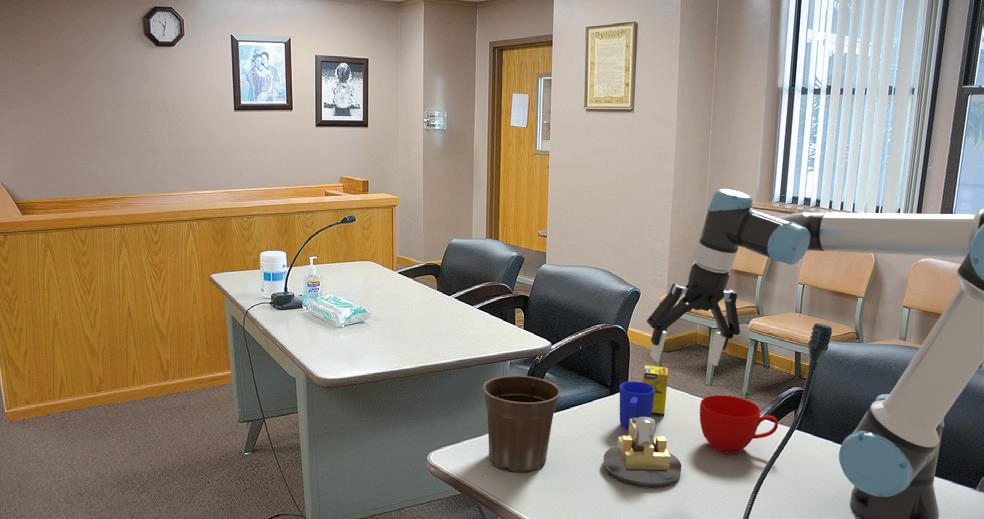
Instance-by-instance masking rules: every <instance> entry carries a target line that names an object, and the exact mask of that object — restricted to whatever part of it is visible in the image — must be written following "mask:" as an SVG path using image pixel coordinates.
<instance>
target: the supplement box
mask: <svg viewBox="0 0 984 519" xmlns="http://www.w3.org/2000/svg"><path fill="white" fill-rule="evenodd" d="M642 375H643V377H642V383H646V384H649V385H651V386H653V387H654V388H655V394H654V399H653V405H652V411H651V416H658V417H665V412H666V411H665V410H666V402H667V401H666V400H667V399H666V398H667V389H668V388H667V387H668V379H669V369H668V367H664V366H663V367H662V366H657V365H643V374H642Z"/></svg>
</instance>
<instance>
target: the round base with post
mask: <svg viewBox="0 0 984 519" xmlns="http://www.w3.org/2000/svg"><path fill="white" fill-rule="evenodd" d="M655 432H656V420H655V419H654V418H652V417H650V418H649V417H638V418H637V419H636V426H635V438H634V450H633V452H642V444H652V445H654V437H655ZM668 453H669V455H670V466H669V470H650V469H625V467H624V464H623V462H622V460H621V457H620V455H619V453H618V451H617V445H616V446H613V447H610V448H609V449H607V450H606V451H605V452H604V455H603V466H602V467H603V470H604V471H605V473H606V474H607V475H608V476H609V477H611V478H612V479H614V480H615V481H618V482H620V483H622V484H625V485H627V486H628V485H629V486H631V487H634V488H635V487H636V488H641V489H642V488H644V489H660V488H666V487H667V488H668V487H670V486H672V485H674V484H676V483H678V481H679V480H680V479H681V473H682V463H681V461H680V460H679V459H678V457H677V456H675V455H674V454H672V453H671V452H669V451H668Z"/></svg>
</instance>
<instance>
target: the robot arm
mask: <svg viewBox="0 0 984 519" xmlns="http://www.w3.org/2000/svg"><path fill="white" fill-rule="evenodd" d="M753 200H754V199H753V198H752V196H751V195H750V194H746V193H744V192H742V191H738V190H734V189H728V188H720V189H719V188H718V189H717V190H715V192H714V193H713V195H712V198H711V200H710V204H709V207H708V208H707V213H706V217H705V219H704V220H705V221H704V224H703V227H702V231H701V235H700V237H699V241H698V245H697V248H696V252H695V255H694V258H693V259H694V262H693V263H692V264H691V268H690V271H689V275H688V280H687V281H688V282H687V285H685V286H682V285H681V286H680V285H679V284H677V283H675V282H674V283H672V285H671V287H670V290H669V292H668V294H667V295H666V296H665V297H664V298H663V299H662V301H661V302H660V303H659V305H658V306H657V307H656V308H655V310H654V311H653V312H652V313H651V315H650V316H649V317H648V318H647V319H646V323H648V325H649V326H650V328H652V329H653V332H652V335H651V339H650V341H651V343H652V347H651V351H650V354H649V355H650V358H652V359H653V360H654V361H655V362H657V363H658V362H660V358H661V354H662V352H663V351H662V350H663V348H664V344H665V341H666V337H667V335H668V332H667V331H666V330H667V329H668V328H669V327H670V326H671V325H673V324H674V323H675V322H676V321H677V320H679V319H680V318H681V317H683V316H684V315H685V314H687V313H689V312H691V311H692V310H695V311H706V312H709V311H710V312H711V314H712V316H713V319H714V320H715V322H716V324H717V327H718V328H719V330H720V331H716V332H715V336H714V339H713V342H712V345H711V348H710V352H709V355H708V360H709V362H710V363H711V364H712V366H715V367H717V366H718V364H719V362H720V359H721V355H722V352H723V351H724V350H725V349H726V348H727V345H728V342H729V340H731V339H733V338H734V335H735V336H739V335H740V334H741V330H740V324H739V316H738V310H737V298H738V293H736V292H735V291H734V290H733V289H731V288H727V285H728V283H729V280H730V275H731V272H730V271H731V270H733V266H734V265H735V264H734V263H735V259H736V257H737V253H738V250H739V247H741V248H744V249H746V250H749V251H752V252H753V253H757V254H759V255H761V256H764V257H766V258H770V259H772V260H773V261H775V262H779V263H780V262H781V263H783V264H787V265H792V266H793V265H796V264H798V263H799V262H800V261H801V260H802V259H803V258H804V256H805V255H806V253H807V251H812V252H813V251H814V252H841V253H845V252H846V253H859V254H860V253H861V254H862V253H863V254H881V255H883V254H885V255H904V256H922V257H923V256H924V257H943V258H944V257H945V258H963V261H962V262H961V263H960V266H959V267H958V269H957V270H956V274H957V277H958V280H959V287H958V288H957V290H956V291H955V293H954V295H953V296H952V298H951V299H950V301H949V303H948V304H947V305H946V307H945V308H944V310H943V311H942V313H941V314H940V316H939V318H938V319H937V321H936V322H935V323H934V325H933V327H932V328H931V330H930V331H929V333H928V334H927V336H926V338H925V339H924V341H923V343H922V344H921V345H920V347H919V349H918V350H917V351H916V353H915V355H914V356H913V358H911V359H912V360H910V362H909V364H908V366H907V367H906V369H905V370H904V372H903V373H902V374H901V376H900V378H899V379H898V381H897V383H896V384H895V386H894V387H893V389H892V390H891V392H890V393H884V394H883V393H882V394H879V395H878V396H876V399H875V401H873V402H872V403H871V405H870V406H869V408H868V410H867V411H866V412H865V414H864V415H863V417H862V419H861V420H860V421H859V423H858V425H857V427H856V428H855V429H854V431H852V433H850V434H848V435H847V436H846V437H845V438H844V439H843V442H842V444H841V446H840V448H839V453H838V460H839V465H840V467H841V470H842V472H843V474H844V476H845V477H846V478H847V480H848V481H849V482H850V483H851V485H853V486H854V487H853V488H852V491H851V494H850V500H849V505H850V507H851V509H852V510H853V511H854V512H855V513H856V515H858V516H859V517H860V516H861V517H860V518H862V519H863V518H864V519H939V517H940V512H939V511H940V510H939V507H938V506H939V505H938V501H937V496H936V493H935V492H936V491H935V487H934V482H935V476H936V470H937V463H938V458H939V452H940V447H941V440H942V434H943V429H944V427H945V417H946V415H947V413H948V412H949V411H950V409H951V408H952V407H953V405H954V403H955V402H956V400H957V399H958V397H960V395H961V393H962V392H963V390H964V389H965V388H966V386H967V385H968V383H970V382H969V381H970V380H971V379H972V377H973V376H974V374H975V373H976V372H977V370H978V369H979V367H980V366H981V364H982V363H983V362H984V208H981V209H979V211H977V212H976V213H975V214H965V213H964V214H962V213H961V214H960V213H958V214H957V213H956V214H954V213H889V212H888V213H884V212H883V213H879V212H877V213H875V212H872V213H870V212H816V211H812V210H811V211H810V210H801V211H800V210H799V211H797V212H793V213H788V214H784V215H778V216H774V215H771V214H768V213H764V212H762V211H759V210H756V209H755V208H752V206H753ZM725 289H726V290H725ZM683 295H684V296H683ZM680 298H681V299H680ZM722 300H724V306H725V312H726V318H727V320H726V319H725V317H724V314H723V312H722V309H721V307H720V305H719V302H721V301H722Z"/></svg>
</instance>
